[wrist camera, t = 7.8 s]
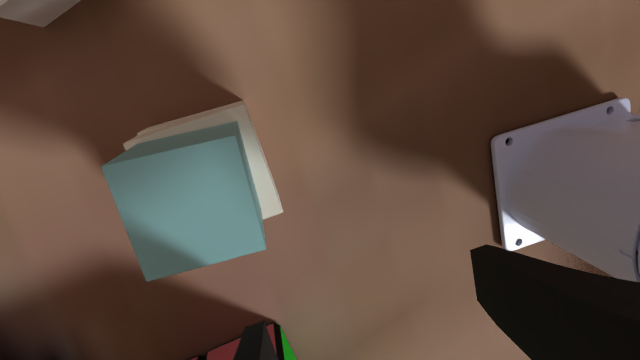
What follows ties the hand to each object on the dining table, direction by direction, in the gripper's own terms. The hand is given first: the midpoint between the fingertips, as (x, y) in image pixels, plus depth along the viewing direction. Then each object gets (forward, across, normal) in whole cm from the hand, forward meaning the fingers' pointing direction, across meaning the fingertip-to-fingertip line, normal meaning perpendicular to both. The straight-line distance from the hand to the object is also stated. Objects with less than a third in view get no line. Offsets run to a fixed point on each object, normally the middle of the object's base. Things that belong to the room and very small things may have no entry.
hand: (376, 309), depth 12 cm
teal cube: (+6, +5, -5) cm, 9 cm away
